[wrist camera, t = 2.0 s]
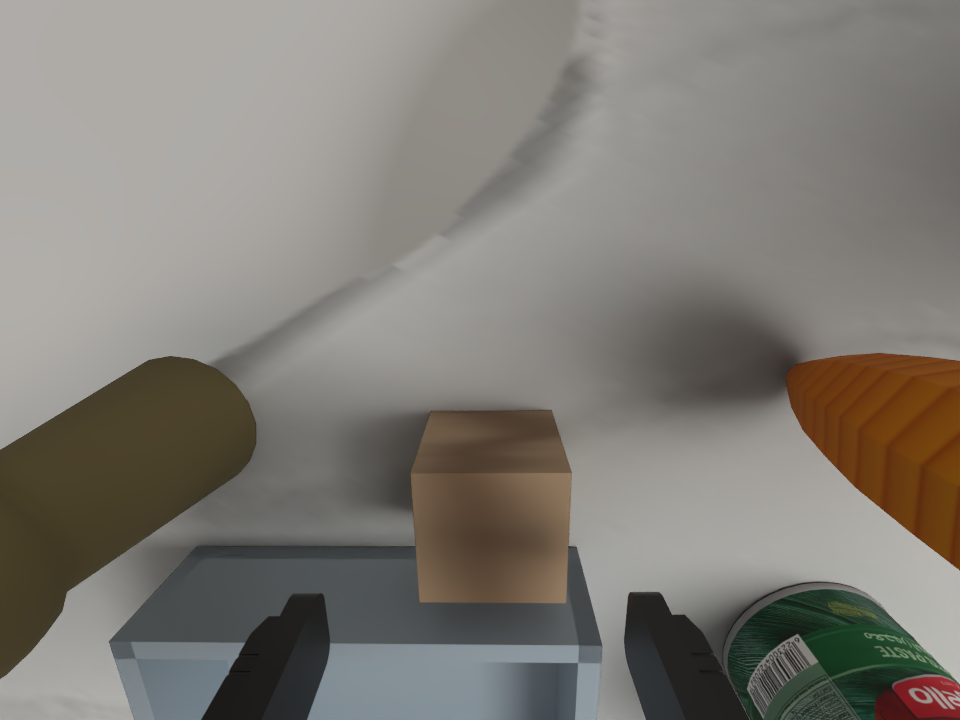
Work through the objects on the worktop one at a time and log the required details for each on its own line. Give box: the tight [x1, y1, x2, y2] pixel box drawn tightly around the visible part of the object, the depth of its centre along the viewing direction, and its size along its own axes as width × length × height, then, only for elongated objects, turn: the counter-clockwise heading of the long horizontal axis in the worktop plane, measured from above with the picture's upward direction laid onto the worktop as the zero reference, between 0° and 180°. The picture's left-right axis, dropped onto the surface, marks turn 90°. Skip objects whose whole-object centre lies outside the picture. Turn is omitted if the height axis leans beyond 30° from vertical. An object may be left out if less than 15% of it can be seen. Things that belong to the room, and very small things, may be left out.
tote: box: [109, 547, 602, 720], centre depth 20 cm, size 18×14×5 cm
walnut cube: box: [410, 410, 572, 603], centre depth 17 cm, size 5×5×5 cm
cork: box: [0, 356, 256, 679], centre depth 14 cm, size 6×6×11 cm
